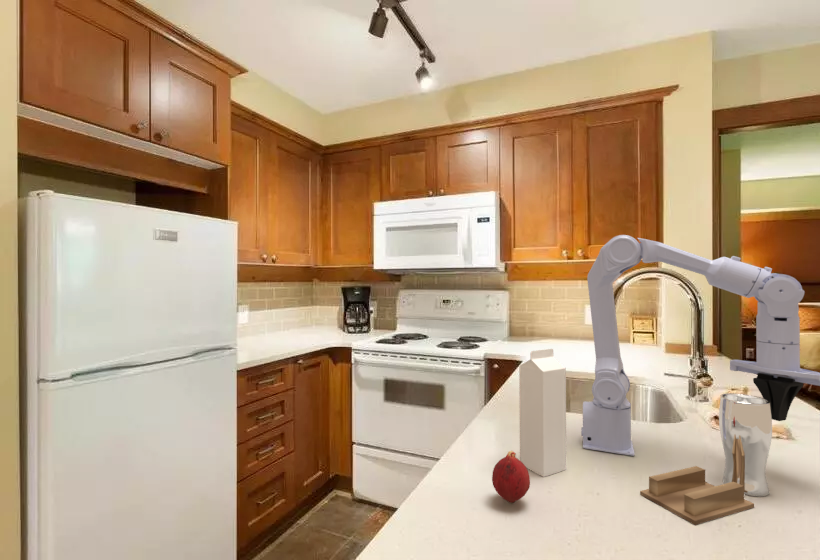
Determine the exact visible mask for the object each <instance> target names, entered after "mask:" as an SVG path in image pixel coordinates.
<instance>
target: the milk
mask: <svg viewBox="0 0 820 560" xmlns="http://www.w3.org/2000/svg"><path fill="white" fill-rule="evenodd" d="M518 367H519V375H518V379H519V380H518V381H519V382H518V383H519V386H518V387H519V388H518V389H519V391H518V392H519V460H520V461H521V462H522V463H523V464H524V465H525V466H526V468H527V470H529V469H530V471H531V470H532V472H533V473H535V474H537V475H539V476H540V477H542V478H545V477H548V476H551V475H554V474H557V473H560V472H563V471H566V470H567V392H566V391H567V378H566V377H567V375H566V374H567V370H566V367H565V366H564V364H563V363H561V362H560V361H559V360H558V359H557V358H556V357H555V356H554V348H547V349H545V348H544V349H538V350H531V351H530V359H529V360H527V361H525V362H524V363H521V364H519V366H518Z"/></svg>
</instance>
